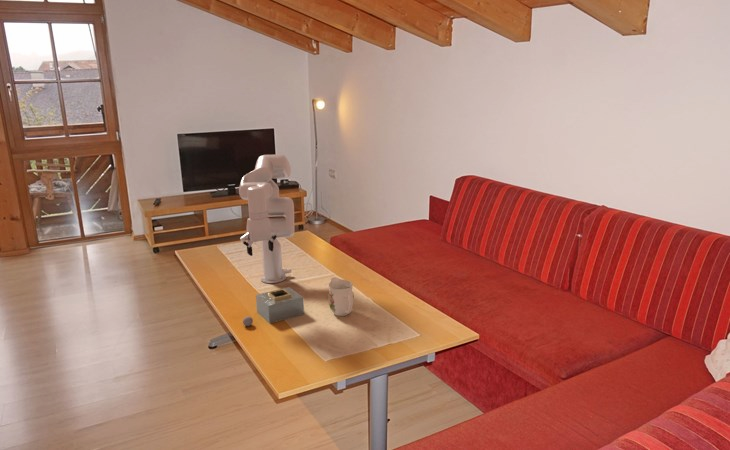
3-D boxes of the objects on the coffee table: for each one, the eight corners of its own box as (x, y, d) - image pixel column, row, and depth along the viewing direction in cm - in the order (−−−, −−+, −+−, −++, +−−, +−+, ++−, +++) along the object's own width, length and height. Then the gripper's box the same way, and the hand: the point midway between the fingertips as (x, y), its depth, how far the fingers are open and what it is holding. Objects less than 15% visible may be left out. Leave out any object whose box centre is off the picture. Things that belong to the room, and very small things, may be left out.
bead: (241, 316, 224) (241, 325, 225) (244, 319, 221) (245, 328, 222) (250, 313, 226) (251, 322, 227) (253, 317, 223) (254, 326, 224)
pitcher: (339, 324, 225) (338, 293, 221) (322, 308, 240) (321, 279, 236) (363, 319, 229) (362, 288, 226) (345, 303, 245) (344, 275, 241)
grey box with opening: (290, 303, 246) (289, 284, 244) (304, 314, 235) (303, 294, 232) (257, 311, 238) (255, 292, 235) (269, 323, 227) (268, 303, 224)
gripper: (272, 209, 240) (275, 246, 245) (235, 216, 230) (238, 254, 235) (280, 213, 234) (282, 250, 239) (242, 220, 224) (245, 259, 229)
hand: (260, 252), depth 237 cm, fingers open, 9 cm apart
